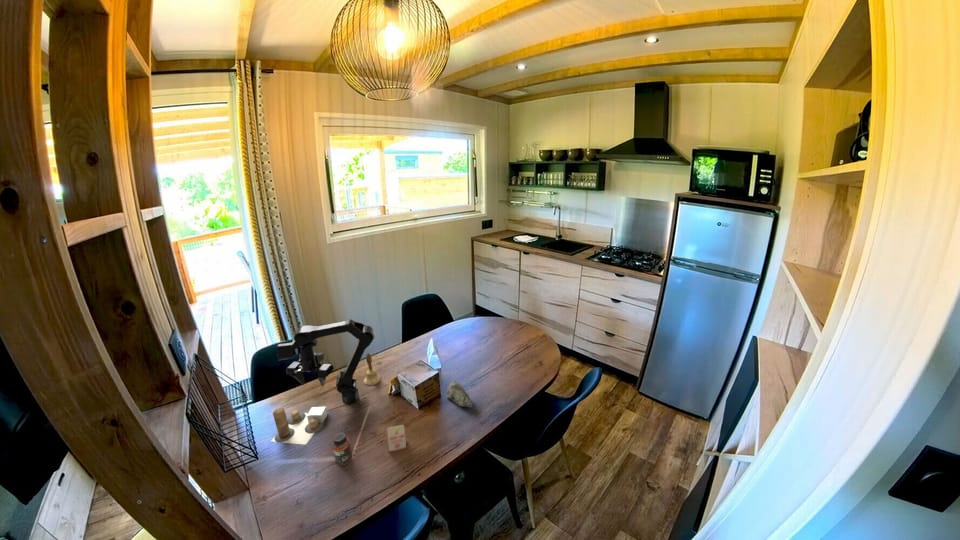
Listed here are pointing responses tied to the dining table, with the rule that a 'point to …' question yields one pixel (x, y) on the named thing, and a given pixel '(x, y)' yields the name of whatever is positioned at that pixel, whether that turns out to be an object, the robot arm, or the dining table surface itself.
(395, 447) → the small printed carton
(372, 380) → the hand bell
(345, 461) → the supplement bottle
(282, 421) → the tan orange cylinder
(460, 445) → the dining table surface
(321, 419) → the housing
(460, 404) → the mineral rock
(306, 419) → the board
